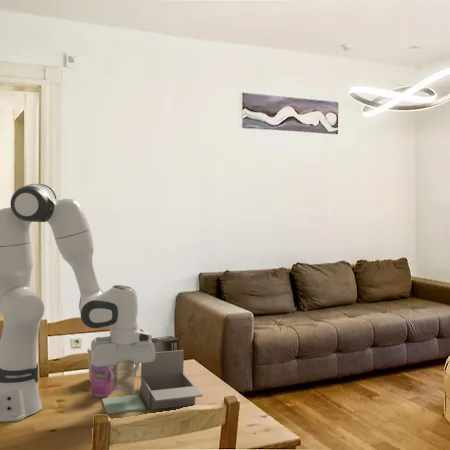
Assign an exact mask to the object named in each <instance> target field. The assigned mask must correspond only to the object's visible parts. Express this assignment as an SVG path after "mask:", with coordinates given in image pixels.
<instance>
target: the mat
mask: <svg viewBox="0 0 450 450" xmlns="http://www.w3.org/2000/svg"><path fill="white" fill-rule="evenodd" d="M101 401H102V404H103V407H104V409H105V410H104V411H105V413H106V414H107V415H113V414H119V413H128V412H136V411H137V412H138V411H145V410H146V406H145V405H144V403H143V402H142V400H141V398H140V396H139V395H138V394H131V395H124V396H123V395H121V396H115V397H103V398H101Z"/></svg>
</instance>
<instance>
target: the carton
mask: <svg viewBox="0 0 450 450" xmlns="http://www.w3.org/2000/svg"><path fill="white" fill-rule="evenodd" d="M184 351H185V350H184V349H181V350H180V349H179V351H167V352H155V360H154V361H153V362H146V363H140V395H141V396H142V399H143V400H144V402H145V403H146V406H147V407H148V408H149V411H152V410H159V409H160V410H161V409H165V408H166V409H167V408H175V407H176V408H177V407H185V406H193V405H196V398H202V397H203V394H202V393H201V392H200V390H199V389H198V388H197V386H195V384H194V383H193V382H192V381H191V380H190V379H189V378H188V376H187V375H186V374H185V373H184V361H185V359H184V354H185V353H184Z"/></svg>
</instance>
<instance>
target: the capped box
mask: <svg viewBox="0 0 450 450" xmlns="http://www.w3.org/2000/svg"><path fill="white" fill-rule="evenodd" d="M134 368H135V364H134V362H133V360H132V361H121V362H117V365H114V372H116V379H114V387H115V392H116V393H117V396H123V395H124V396H128V395H135V377H134Z"/></svg>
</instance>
